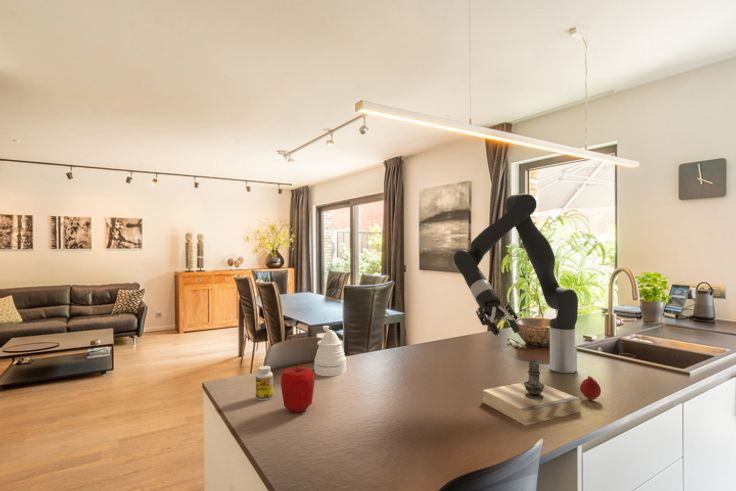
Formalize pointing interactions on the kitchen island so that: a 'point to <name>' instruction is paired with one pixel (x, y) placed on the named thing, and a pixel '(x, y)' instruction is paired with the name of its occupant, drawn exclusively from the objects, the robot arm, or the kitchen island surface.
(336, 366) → the honey pot
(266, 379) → the supplement bottle
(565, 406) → the platform
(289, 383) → the apple
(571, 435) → the kitchen island surface
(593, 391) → the onion
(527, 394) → the dark grey chess piece
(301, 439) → the kitchen island surface
